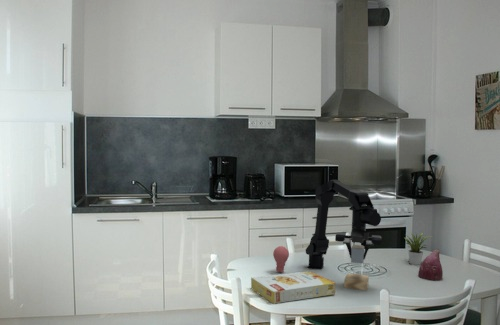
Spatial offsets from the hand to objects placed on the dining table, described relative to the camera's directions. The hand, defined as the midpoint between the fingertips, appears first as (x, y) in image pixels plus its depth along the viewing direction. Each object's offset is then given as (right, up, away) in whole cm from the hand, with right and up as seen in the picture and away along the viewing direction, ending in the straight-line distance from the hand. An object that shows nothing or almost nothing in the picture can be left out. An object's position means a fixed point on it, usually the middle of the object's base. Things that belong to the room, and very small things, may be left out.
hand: (357, 258), depth 204 cm
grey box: (0, -1, 0) cm, 1 cm away
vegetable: (+37, -12, +16) cm, 42 cm away
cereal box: (-28, -12, -9) cm, 32 cm away
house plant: (+39, -11, +40) cm, 57 cm away
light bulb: (-31, -10, +17) cm, 37 cm away
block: (0, -12, +1) cm, 12 cm away
